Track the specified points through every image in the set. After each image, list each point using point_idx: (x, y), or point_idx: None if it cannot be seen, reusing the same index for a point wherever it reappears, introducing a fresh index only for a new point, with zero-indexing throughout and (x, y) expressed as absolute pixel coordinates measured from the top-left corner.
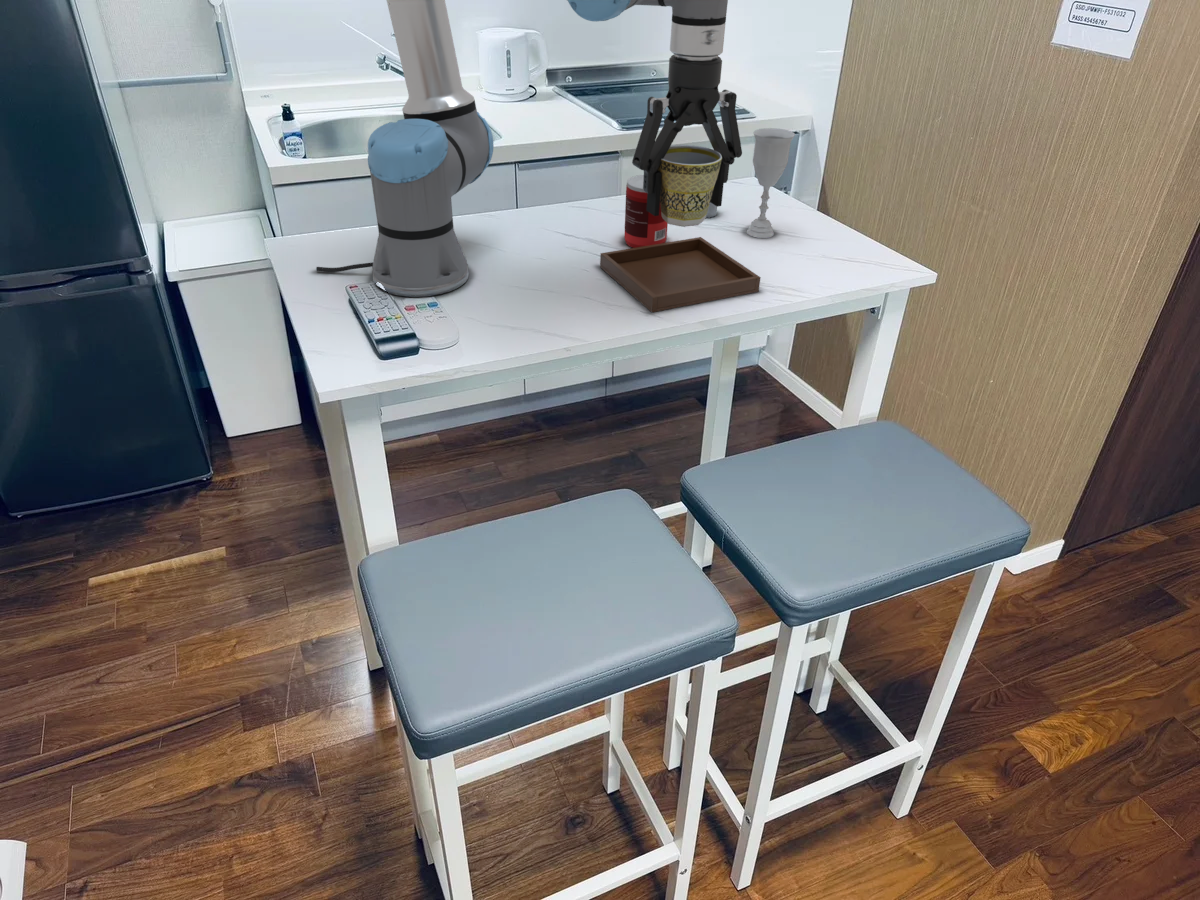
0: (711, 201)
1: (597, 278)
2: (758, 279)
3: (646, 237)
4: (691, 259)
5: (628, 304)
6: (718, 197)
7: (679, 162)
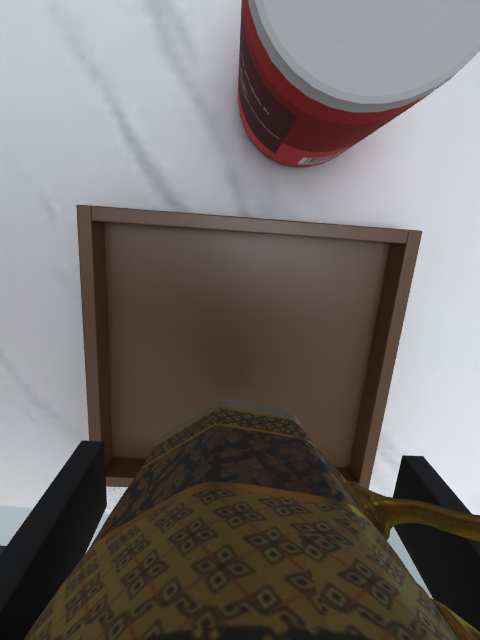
0: (401, 481)
1: (60, 268)
2: None
3: (273, 152)
4: (332, 289)
5: (75, 414)
6: (409, 552)
7: (335, 577)
